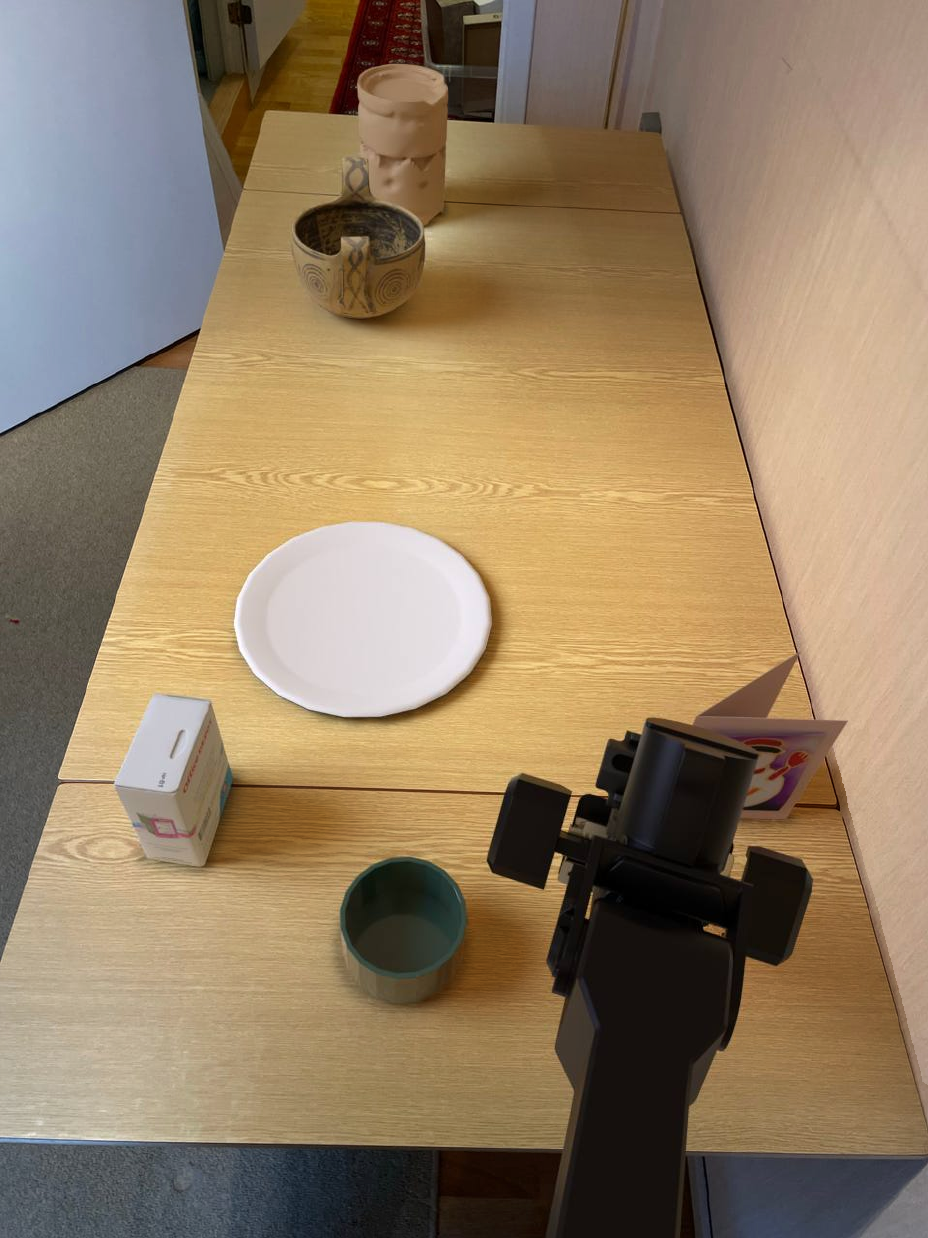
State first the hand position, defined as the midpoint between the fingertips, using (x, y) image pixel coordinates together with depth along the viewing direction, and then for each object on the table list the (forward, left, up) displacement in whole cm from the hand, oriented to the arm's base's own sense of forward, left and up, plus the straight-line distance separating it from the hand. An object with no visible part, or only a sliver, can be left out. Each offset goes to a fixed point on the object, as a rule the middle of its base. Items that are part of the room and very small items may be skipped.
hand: (644, 831), depth 68 cm
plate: (+32, +19, -14) cm, 39 cm away
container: (+113, +11, -14) cm, 114 cm away
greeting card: (+11, -11, -14) cm, 21 cm away
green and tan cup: (-1, +17, -13) cm, 22 cm away
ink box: (+11, +34, -14) cm, 38 cm away
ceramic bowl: (+87, +18, -14) cm, 89 cm away
